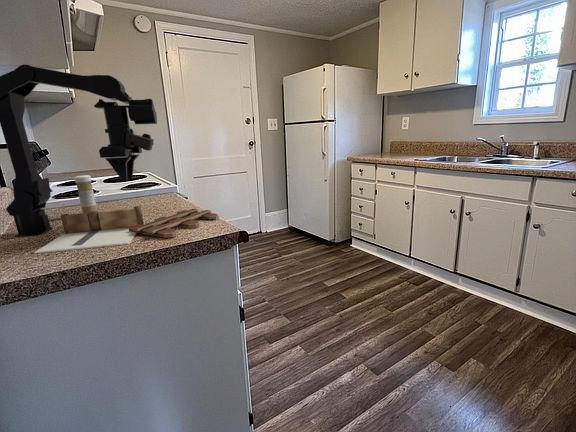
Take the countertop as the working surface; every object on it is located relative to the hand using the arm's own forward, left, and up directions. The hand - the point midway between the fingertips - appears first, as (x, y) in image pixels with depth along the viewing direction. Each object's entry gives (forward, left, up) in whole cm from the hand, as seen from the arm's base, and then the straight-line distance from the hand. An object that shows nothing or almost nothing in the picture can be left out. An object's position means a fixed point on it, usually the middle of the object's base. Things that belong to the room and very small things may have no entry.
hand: (127, 180), depth 91 cm
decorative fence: (+14, -7, -13) cm, 20 cm away
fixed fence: (-12, -6, -13) cm, 18 cm away
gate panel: (-1, -6, -12) cm, 14 cm away
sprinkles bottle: (-18, +17, -13) cm, 28 cm away
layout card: (-6, -12, -13) cm, 19 cm away
